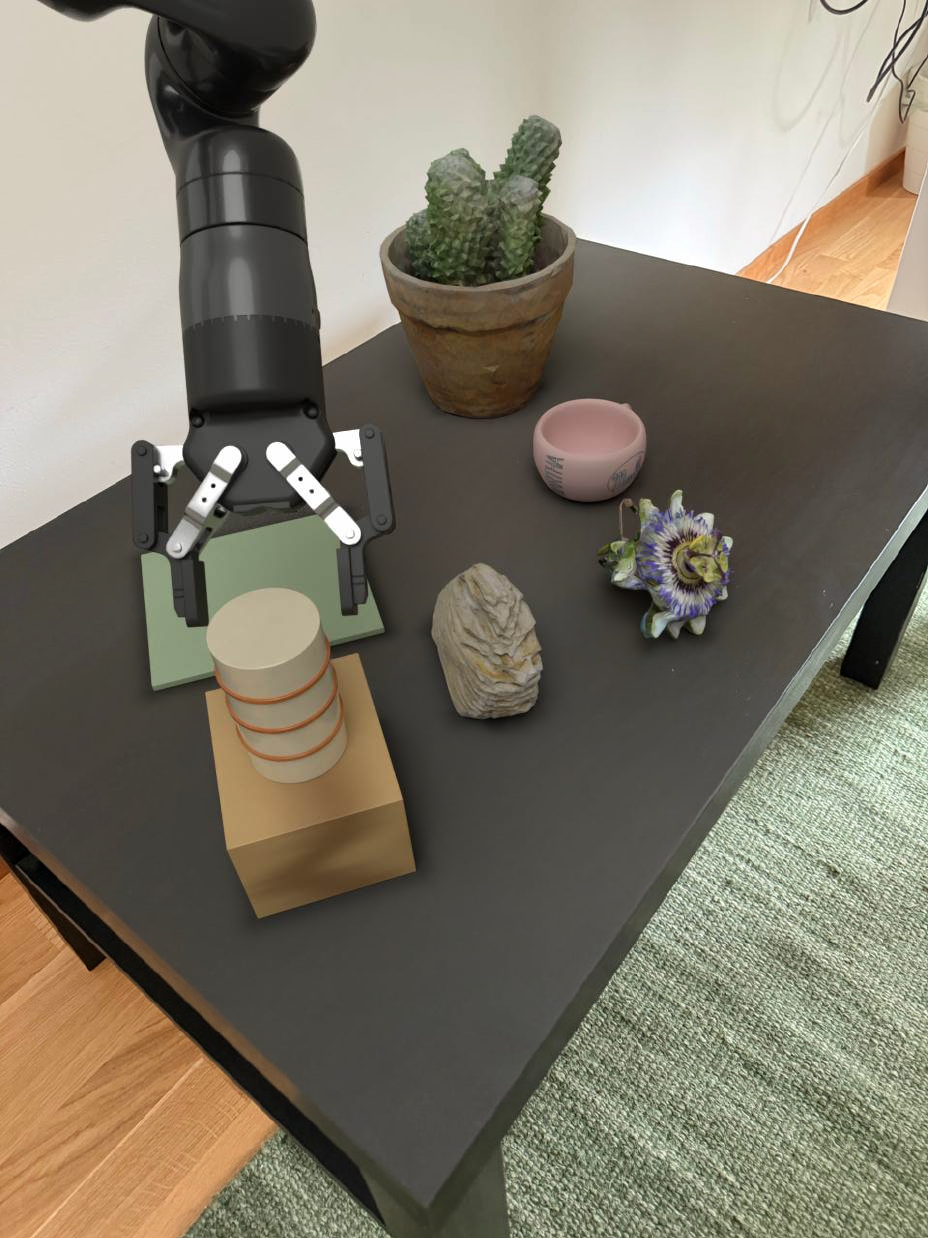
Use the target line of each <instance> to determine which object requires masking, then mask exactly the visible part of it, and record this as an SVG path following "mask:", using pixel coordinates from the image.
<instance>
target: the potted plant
mask: <svg viewBox="0 0 928 1238" xmlns="http://www.w3.org/2000/svg"><path fill="white" fill-rule="evenodd" d="M517 128H518V129H517V131H515V132H513V133H512V138H510V141H511V143H510V144H511V147H509V148H507V149H506V155H507V157H504V163H500V164H498V167H499V170H498V171H496V170H495V171H492V175H493V179H486V176H487V175H486V174H487V171H485V169H483V168H482V167H481V164H480V163H477V162H476V160H475V159H474V158H473V157H472V156H471V155H470V152H469V150H468V149H466V148H465V147H459V148H457V149H453V150H451V151H450V152H449V153H447V154H446V155H444V156H442V157H439V158H437V159H434V160H433V161H431V162H430V166H429V168H428V170H427V172H426V176H427V181H426V182H425V185H424V187H423V189H424V190H425V192H426V195H425V196H424V199H425V200H426V201H427V202H428V204H427V205H426V208H423V209H421V210H419V211H418V212H415V213H414V212H412V215H411V216H410V217H409V218H408V220H405V223H404V224H403V225H401V226H399V227H397V228H396V229H394V230H393V231H392V232H390V233H389V234H388V235H387V236H385V238H384V239H383V241H382V243H380V246H379V253H378V257H379V261H380V265H381V270H382V274H383V277H384V283H385V287H386V290H387V293H388V297H389V300H390V303H391V305H393V307H394V308H395V309H396V310H397V313H398V316H399V319H400V322H401V325H402V329H403V331H404V334H405V337H406V340H407V342H408V345H409V347H410V351H411V353H412V355H413V358H414V360H415V362H416V365H417V367H418V369H419V372H420V374H421V377H422V380H423V382H424V385H425V387H426V389H427V392H428V395H429V397H430V398H431V400H432V401H433V402H434V404H435V405H436V406H437V407H439V408H440V410H441V411H442V412H444V413H445V412H446V413H449V414H453V415H456V416H461V417H465V418H467V419H494V418H500V417H504V416H508V415H511V414H514V413H516V412H519V411H521V410H522V409H523V408H525V406H527V405H528V404H529V403H531V401H532V399H533V397H534V396H535V394H536V393H537V390H538V389H539V386H540V383H541V380H542V377H543V373H544V371H545V368H546V365H547V363H548V359H549V356H550V353H551V351H552V347H553V344H554V341H555V338H556V337H555V336H556V333H557V329H558V326H559V323H560V321H561V319H562V318H563V314H564V313H563V312H564V308H565V307H564V306H565V301H566V299H567V297H568V295H569V293H570V291H571V289H572V287H573V284H574V270H575V253H576V247H577V244H578V238H577V235H576V233H575V231H574V230H573V228H572V227H570V226H568V225H567V224H565V223H564V222H562V221H561V220H559V219H558V218H556V217H555V216H553V215H552V214H551V215H550V214H547V213H545V212H542V211H544V207H545V206H544V203H545V202H546V201H547V199H548V197H549V195H550V193H551V191H552V190H551V189H550V188H549V187H548V186H547V185H548V184H549V182H551V180H552V178H551V177H552V176H553V173H552V171H554V169H556V167H557V164H555V160H557V159H559V156H560V148H561V146H563V141H562V140H563V139H562V135H561V131H560V128H558V126H557V125H555V124H554V123H553V122H551V121H549V120H547V119H545V118H543V117H542V116H540V115H538V114H531V115H530V114H529V116H528V118H523V119H522V122H521V124H519V125H518V127H517Z"/></svg>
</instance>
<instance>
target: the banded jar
mask: <svg viewBox="0 0 928 1238" xmlns="http://www.w3.org/2000/svg"><path fill="white" fill-rule="evenodd" d="M206 643H207V647H208V649H209V652H210V655H211V657H212V660H213V663H214V672H215V676H214V677H215V679H216V682H217V684H218V686H219V687H220V688H222V690H223V691H224V692H225V702H226V705H227V709H228V711H229V713H230V715H231V716H232V718H233V719H234V720H235V722H236V732H237V735H238V738H239V740H240V742H241V744H242V745H243V746H244V747H245V749H246V752H247V754H248V757H249V760H250V762H251V764H252V766H253V767H254V769H255V770H256V771H257V772H258V773H259V774H261V775H262V776H263V777H265V778H267V779H269V780H272V781H275V782H279V783H301V782H305V781H309V780H312V779H314V778H316V777H319V776H320V775H322V774H324V773H326V772H327V771H328V770H330V769H331V768H332V767H333V766H334V765H335V764H336V763H337V762H338V761H339V759H340V758H341V756H342V755H343V753H344V751H345V748H346V745H347V740H348V733H347V727H346V723H345V719H344V704H343V700H342V697H341V695H340V693H339V692H338V689H337V688H338V679H337V674H336V671H335V668H334V666H333V665H332V663H331V660H332V659H331V656H332V649H331V646H330V644H329V641H328V638H327V636H326V635H325V633H324V630H323V626H322V622H321V618H320V614H319V611H318V608H317V607H316V605H315V604H314V603H313V602H312V600H311V599H309V598H308V597H307V596H305V595H304V594H302V593H300V592H297V591H294V590H291V589H286V588H263V589H258V590H254V591H250V592H247V593H244V594H242V595H240V596H238V597H236V598H234V599H232V600H230V601H229V602H228V603H226V604H225V605H224V606H222V607H221V608H220V609H219V610H218V611H217V612H216V614H215V615H214V616H213V618H212V619H211V621H210V623H209V625H208V628H207V632H206Z"/></svg>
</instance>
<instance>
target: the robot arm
mask: <svg viewBox="0 0 928 1238" xmlns="http://www.w3.org/2000/svg"><path fill="white" fill-rule="evenodd" d="M36 1H37V2H39V3H41V4H42V5H44V6H46V7H47V8H48V9H51V10H53V11H54V12H56V13H58V14H60V15H62V16H64V17H66V18H68V19H71V20H73V21H77V22H81V23H92V22H93V23H94V22H95V21H98V20H101V19H103V18H105V17H107V16H108V15H110V14H113V13H114V12H116V11H119V10H122V9H133V10H138V11H142V12H144V13H146V14H147V13H148V14H151V15H152V16H151V18H150V21H149V23H148V26H147V29H146V34H145V40H144V42H145V43H144V52H143V53H144V59H143V60H144V64H143V65H144V77H145V83H146V87H147V88H146V89H147V93H148V97H149V100H150V104H151V108H152V111H153V114H154V117H155V121H156V125H157V127H158V130H159V134H160V137H161V140H162V144H163V147H164V150H165V152H166V155H167V158H168V160H169V163H170V166H171V169H172V172H173V175H174V177H175V179H174V180H175V183H174V185H175V204H176V217H177V231H178V244H179V257H180V258H179V272H178V302H179V316H180V328H181V340H182V355H183V366H184V377H185V379H184V380H185V391H186V405H187V418H188V432H187V436H186V438H185V441H184V442H183V444H153V443H151V442H149V441H148V440H144V439H139V440H137V441H135V442H134V443H133V444H132V445H131V448H130V469H131V471H130V474H131V480H130V481H131V521H132V522H131V525H132V526H131V527H132V528H131V530H132V534H131V535H132V543H133V544H134V546H135V547H137V549H140V550H145V551H148V552H150V553H152V552H155V553H159V554H162V555H164V556H165V557H166V558H167V559H168V560H169V562H170V566H171V579H172V590H173V604H174V610H175V612H176V614H177V616H178V617H185V621H186V625H187V627H188V628H191V627H206V626H208V624H209V614H208V601H207V589H206V576H205V563H204V561H199V556H200V554H201V553H202V551H203V549H204V548H205V546H206V545H207V543H208V542H209V540H210V539H212V537H213V536H214V535H215V533H216V532H217V531H219V530H220V529H221V527H222V526H223V524H224V523H225V521H226V520H227V518H228V517H229V515H230V514H231V513H232V514H236V515H238V516H241V517H252V516H253V517H254V516H258V515H260V514H264V513H266V512H270V511H271V512H275V513H279V514H280V513H281V514H289V513H297V512H298V510H300V509H302V508H303V507H305V506H306V505H309V507H310V508H311V510H313V511H314V513H315V514H318V515H319V516H320V517H321V518H322V520H323V521H324V522H325V523H326V524H327V525H328V526H329V527H330V529H331V530H332V531H333V532H334V533H335V534H336V535H337V536H338V537H339V539H340V548H337V549H336V553H337V566H338V579H339V591H340V604H341V613H342V616H354V615H358V605H359V604H366V601H367V598H368V595H369V594H368V582H369V581H368V582H367V579H368V571H367V558H366V550H367V547H368V546H369V544H370V543H372V542H373V541H375V540H377V539H379V538H381V537H383V536H387V535H390V534H392V533H393V532H395V530H396V528H397V519H396V513H395V506H394V505H395V504H394V497H393V491H392V483H391V476H390V472H389V471H390V469H389V462H388V456H387V448H386V442H385V437H384V435H383V433H382V431H381V429H380V427H379V425H378V424H376V423H374V422H365V423H363V424H362V425H361V426H360V427H359V428H358V429H349V430H344V431H343V430H342V431H336V432H333V431H332V430H331V429H332V428H330V425H329V422H328V417H327V409H326V408H327V407H326V395H325V383H324V369H323V359H322V358H323V357H322V356H323V355H322V344H321V332H320V330H321V328H322V326H321V325H322V319H321V311H320V310H319V307H318V306H319V305H318V296H317V288H316V282H315V278H314V277H315V276H314V273H313V268H312V264H311V259H310V251H309V241H308V240H309V239H308V227H307V216H306V215H307V214H306V201H305V188H304V181H303V176H302V170H301V166H300V162H299V158H298V157H297V155H296V154H295V151H294V150H293V148H292V146H290V144H289V143H288V142H287V141H286V140H285V139H284V138H283V137H281V136H280V135H278V134H277V133H275V132H273V131H271V130H268V129H267V128H263V127H260V126H261V125H260V124H261V123H260V121H261V120H260V118H261V107H262V105H264V103H266V101H268V100H269V99H270V98H271V97H272V96H273V95H274V94H275V93H276V92H277V91H278V90H279V89H280V88H281V87H283V85H284V84H286V83H287V82H288V81H290V79H291V78H292V77H293V76H295V75H296V73H297V72H299V70H300V69H302V68H303V66H304V65H305V64H306V62H307V60H308V59H309V57H310V55H311V53H312V51H313V49H314V46H315V43H316V37H317V31H318V25H317V23H318V22H317V15H316V9H315V5H314V2H313V0H36ZM340 452H341V453H344V454H346V455H347V457H348V460H349V462H350V463H351V465H352V466H353V467H354V468H355V469H358V470H363V474H364V482H365V489H366V496H367V504H368V510H369V514H368V515H365V516H363V517H360V518H358V519H357V520H354V518H353V517H351V515H350V514H349V513H348V512H347V511H346V510H345V509H344V507H343V506H342V505H341V504H340V503H339V502H338V500H337V499H336V498H335V497H334V496H333V494H331V493H330V491H329V490H328V489H327V488H326V486H324V485H323V483H322V481H323V479H324V478H325V475H327V472H328V471H329V469H330V467H331V466H332V464H333V462H334V461H335V459H336V458H337V456H338V453H340ZM184 465H185V466H186V467H187V468H188V469H189V470H190V472H191V473H192V474H193V476H195V477H196V478H197V480H198V481H199V482H200V483H201V484H200V485H199V487H198V489H196V491H195V493H194V494H193V496H192V498H191V499H190V501H189V503H188V504H187V506H186V507H185V510H184V512H183V513H184V514H183V517H182V518H181V520H180V522H179V523H178V525H177V526H176V528H175V530H173V533H172V534H171V533H169V487H168V485H171V484H173V483H174V482H175V481H176V480H177V478H178V472H179V470H180V469H181V467H182V466H184Z"/></svg>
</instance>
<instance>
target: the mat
mask: <svg viewBox="0 0 928 1238" xmlns="http://www.w3.org/2000/svg"><path fill="white" fill-rule="evenodd" d="M337 548H340V539H339V537H338V536H337V535H336V534H335V533H334V532H333V531H332V530H331V529H330V527H329V526H328V525H327V524H326V523H325V522H324V521H323V520H322V518H321V517H320V516H319V515H318V514H317V513H315V514H313V515H308V516H303V517H299V518H295V519H291V520H286V521H282V522H278V523H274V524H268V525H264V526H261V527H256V528H253V529H252V528H251V529H247V530H243V531H239V532H235V533H230V534H226V535H222V536H216V537H213V538H212V537H211V539H210V540H209V542H208V543H207V545H206V546H205V548H204V549H203V551H202V553H201V554H200V556H199V561H204V563H205V576H206V589H207V601H208V614H209V623H210V621H211V619H212V618H213V616H214V615H215V614H216V612H217V611H218V610H219V609H220V608H221V607H222V606H224V605H225V604H226V603H228V602H229V601H230V600H232V599H234V598H236V597H238V596H240V595H242V594H244V593H247V592H250V591H254V590H258V589H263V588H286V589H291V590H294V591H297V592H300V593H302V594H304V595H305V596H307V597H308V598H309V599H311V600H312V602H313V603H314V604H315V605H316V607H317V608H318V611H319V614H320V618H321V622H322V626H323V630H324V633H325V635H326V636H327V638H328V641H329V644H330V647H333V646H337V645H341V644H345V643H349V642H352V641H356V640H361V639H364V638H368V637H373V636H377V635H381V634H384V633H385V631H386V630H385V625H384V624H383V620H382V617H381V615H380V612H379V609H378V606H377V603H376V600H375V598H374V594H373V592H372V588H371V586H370V585H371V584H370V583H369V579H368V578H367V582H368V594H369V595H368V598H367V601H366V604H359V605H358V615H354V616H342V613H341V604H340V591H339V579H338V566H337V553H336V549H337ZM140 560H141V571H142V585H143V597H144V609H145V620H146V633H147V643H148V644H147V645H148V657H149V670H150V682H151V688H152V690H153V692H156V691H161V690H165V689H169V688H172V687H178V686H181V685H184V684H188V683H192V682H193V683H194V682H196V681H200V680H204V679H208V678H212V677H216V676H215V672H214V663H213V660H212V657H211V655H210V652H209V649H208V647H207V643H206V632H207V628H208V626H206V627H191V628H188V627H187V625H186V621H185V617H178V616H177V614H176V612H175V610H174V604H173V590H172V579H171V566H170V562H169V560H168V559H167V558H166V557H165V556H164V555H162V554H159V553H155V552H147V553H143V554H140ZM208 625H209V624H208Z"/></svg>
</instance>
